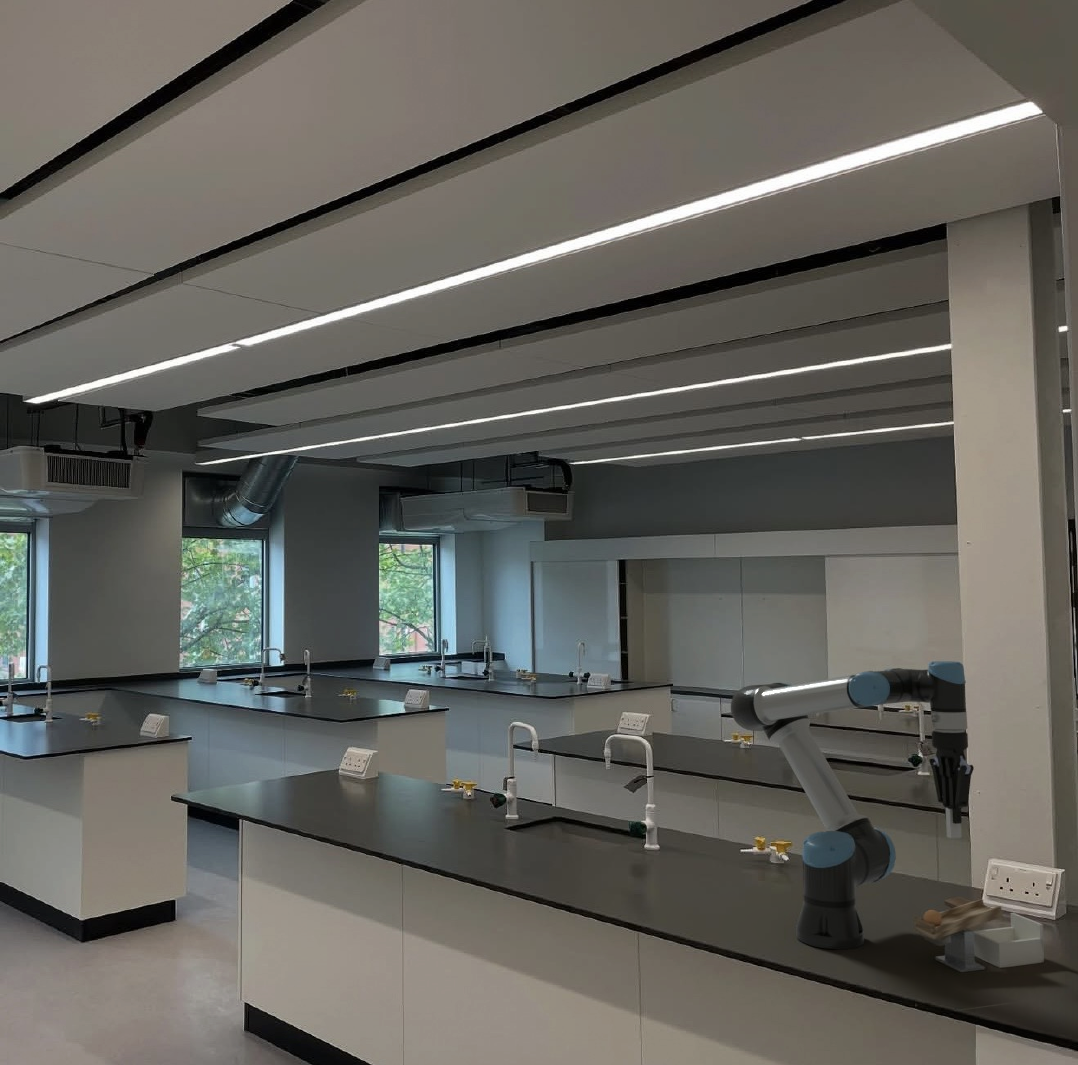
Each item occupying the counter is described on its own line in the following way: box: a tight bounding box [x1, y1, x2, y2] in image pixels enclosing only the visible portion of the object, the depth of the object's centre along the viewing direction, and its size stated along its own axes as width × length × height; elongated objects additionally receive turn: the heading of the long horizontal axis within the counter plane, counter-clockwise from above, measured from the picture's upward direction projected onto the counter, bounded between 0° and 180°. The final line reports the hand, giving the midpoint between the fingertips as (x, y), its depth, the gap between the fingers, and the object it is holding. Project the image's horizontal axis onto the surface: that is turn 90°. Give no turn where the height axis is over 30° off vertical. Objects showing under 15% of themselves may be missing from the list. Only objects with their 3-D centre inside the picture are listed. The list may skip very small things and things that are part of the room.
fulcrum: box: [935, 928, 985, 973], centre depth 220 cm, size 6×8×8 cm
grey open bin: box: [973, 912, 1045, 969], centre depth 223 cm, size 9×12×8 cm
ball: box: [922, 909, 941, 927], centre depth 218 cm, size 4×4×4 cm
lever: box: [913, 895, 1004, 947], centre depth 223 cm, size 18×13×5 cm
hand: (954, 837), depth 228 cm, fingers closed
